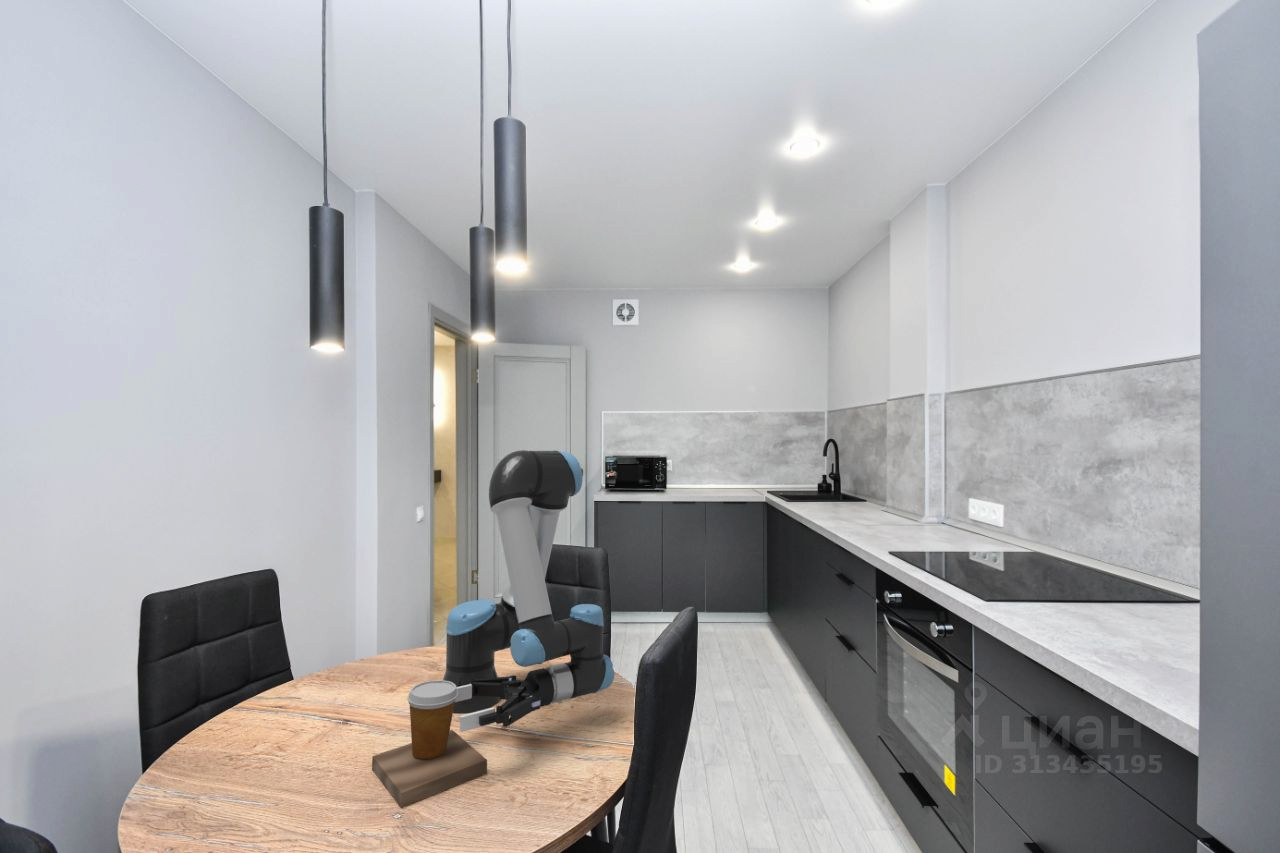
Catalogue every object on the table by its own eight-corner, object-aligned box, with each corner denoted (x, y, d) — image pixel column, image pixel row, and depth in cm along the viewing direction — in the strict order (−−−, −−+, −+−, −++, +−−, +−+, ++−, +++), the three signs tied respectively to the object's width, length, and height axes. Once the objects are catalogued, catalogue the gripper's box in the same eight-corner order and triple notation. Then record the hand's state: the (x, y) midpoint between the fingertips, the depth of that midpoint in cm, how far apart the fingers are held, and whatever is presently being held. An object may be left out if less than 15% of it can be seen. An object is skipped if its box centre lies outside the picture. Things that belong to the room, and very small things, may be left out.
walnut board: (372, 769, 108) (372, 756, 108) (451, 741, 119) (452, 729, 119) (401, 807, 96) (401, 793, 96) (486, 773, 107) (487, 759, 107)
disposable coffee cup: (464, 745, 113) (468, 684, 113) (431, 768, 104) (435, 702, 105) (427, 735, 116) (431, 676, 117) (392, 756, 107) (396, 692, 108)
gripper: (575, 725, 112) (470, 758, 99) (524, 684, 132) (432, 707, 120) (575, 687, 112) (470, 714, 100) (525, 652, 132) (433, 671, 120)
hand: (449, 710), depth 110 cm, fingers open, 13 cm apart
